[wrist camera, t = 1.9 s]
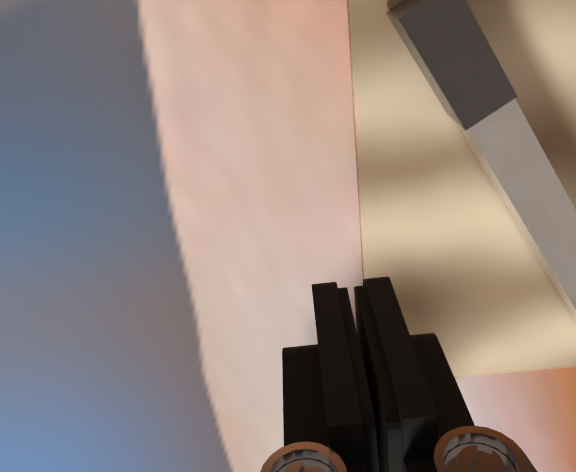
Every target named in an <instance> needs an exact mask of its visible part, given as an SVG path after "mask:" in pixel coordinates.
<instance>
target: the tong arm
mask: <svg viewBox="0 0 576 472" xmlns="http://www.w3.org/2000/svg"><path fill="white" fill-rule="evenodd" d="M386 14H387V16H388V17H389V19H390V21H391V22H392V24H393V26H394V27H395V29H396V31H397V32H398V34H399V35H400V37H401V39H402V40H403V42H404V44H405V45H406V47H407V49H408V50H409V52H410V54H411V55H412V57H413V58H414V60H415V62H416V63H417V65H418V67H419V68H420V70H421V72H422V73H423V75H424V77H425V78H426V80H427V81H428V83H429V85H430V86H431V88H432V90H433V91H434V93H435V95H436V96H437V98H438V100H439V101H440V103H441V105H442V106H443V108H444V109H445V111H446V113H447V114H448V115H449V116H450V117H451V118H452V119H453V120H454V121H455V123H456V124H457V126H458V128H459V129H460V131H461V132H462V134H463V136H464V137H465V139H466V141H467V142H468V144H469V146H470V147H471V149H472V151H473V152H474V154H475V156H476V157H477V159H478V161H479V162H480V164H481V166H482V167H483V169H484V170H485V172H486V174H487V175H488V177H489V179H490V180H491V182H492V184H493V185H494V187H495V189H496V190H497V192H498V194H499V195H500V197H501V199H502V200H503V202H504V203H505V205H506V207H507V208H508V210H509V212H510V213H511V215H512V217H513V218H514V220H515V222H516V223H517V225H518V227H519V228H520V230H521V232H522V233H523V235H524V237H525V238H526V240H527V241H528V243H529V245H530V246H531V248H532V250H533V251H534V253H535V255H536V256H537V258H538V260H539V261H540V263H541V265H542V266H543V268H544V270H545V271H546V273H547V274H548V276H549V278H550V279H551V281H552V283H553V284H554V286H555V288H556V289H557V291H558V293H559V294H560V296H561V298H562V299H563V301H564V303H565V304H566V306H567V308H568V309H569V311H570V312H571V314H572V316H573V317H574V319H575V321H576V210H575V208H574V206H573V204H572V202H571V200H570V199H569V197H568V195H567V193H566V191H565V189H564V187H563V186H562V184H561V182H560V180H559V178H558V176H557V175H556V173H555V171H554V169H553V167H552V165H551V164H550V162H549V160H548V158H547V156H546V154H545V153H544V151H543V149H542V147H541V145H540V143H539V142H538V140H537V138H536V136H535V134H534V132H533V130H532V129H531V127H530V125H529V123H528V121H527V119H526V118H525V116H524V114H523V112H522V110H521V108H520V107H519V105H518V103H517V101H516V99H515V98H516V97H518V96H517V94H516V92H515V91H514V89H513V87H512V85H511V83H510V81H509V80H508V78H507V76H506V74H505V72H504V70H503V68H502V67H501V65H500V63H499V61H498V59H497V57H496V56H495V54H494V52H493V50H492V48H491V46H490V44H489V43H488V41H487V39H486V37H485V35H484V33H483V31H482V30H481V28H480V26H479V24H478V22H477V20H476V19H475V17H474V15H473V13H472V11H471V9H470V7H469V6H468V4H467V2H466V0H402V1H401V2H400V3H398V4H397V5H396V6H394V7H393V8H392V9H390V10H389V11H388V12H386Z"/></svg>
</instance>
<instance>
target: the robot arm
mask: <svg viewBox="0 0 576 472" xmlns="http://www.w3.org/2000/svg"><path fill="white" fill-rule="evenodd" d="M312 292H313V302H314V311H315V320H316V329H317V339H318V344H317V345H307V346H298V347H288V348H283V350H282V361H283V418H284V447H282V448H280V449H279V450H277V451H276V452H274V453H273V454H272V455H271V456H270V457H269V458H268V459H267V461H266V462H265V463H264V464H263V466H262V469H261V472H537V470H536V469H535V468H534V466H533V465H532V463H531V462H530V460H529V459H528V457H527V456H526V455H525V453H524V452H523V451H522V449H521V448H520V447H519V446H518V445H517V444H516V443H515V442H514V441H513V440H512V439H510V438H508V437H507V436H505V435H504V434H502V433H500V432H498V431H495V430H492V429H490V428H486V427H479V426H475V425H474V423H473V420H472V418H471V416H470V413H469V411H468V408H467V406H466V404H465V401H464V399H463V397H462V394H461V392H460V390H459V387H458V385H457V382H456V380H455V378H454V375H453V373H452V371H451V368H450V366H449V364H448V361H447V359H446V356H445V354H444V352H443V349H442V347H441V345H440V342H439V340H438V338H437V336H436V334H434V333H425V334H415V335H410V334H409V331H408V328H407V325H406V323H405V320H404V317H403V314H402V311H401V308H400V306H399V303H398V300H397V297H396V294H395V291H394V289H393V286H392V283H391V280H390V278H389V277H388V276H387V277H378V278H368V279H363V286H356V287H354V292H355V308H356V323H357V332H356V327H355V323H354V318H353V313H352V309H351V304H350V299H349V295H348V290H347V287H346V288H337V283H336V282H330V283H321V284H312Z"/></svg>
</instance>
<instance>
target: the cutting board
mask: <svg viewBox="0 0 576 472" xmlns="http://www.w3.org/2000/svg"><path fill="white" fill-rule="evenodd" d="M401 1H402V0H347V7H348V24H349V41H350V59H351V76H352V93H353V110H354V128H355V145H356V162H357V180H358V197H359V214H360V231H361V249H362V266H363V279H368V278H378V277H387V276H388V277H389V278H390V280H391V283H392V286H393V289H394V291H395V294H396V297H397V300H398V303H399V306H400V308H401V311H402V314H403V317H404V320H405V323H406V325H407V328H408V331H409V334H410V335H415V334H425V333H434V334H436V336H437V338H438V340H439V342H440V345H441V347H442V349H443V352H444V354H445V356H446V359H447V361H448V364H449V366H450V368H451V371H452V373H453V375H454V378H455V377H466V376H477V375H488V374H498V373H509V372H520V371H531V370H542V369H553V368H564V367H575V366H576V321H575V319H574V317H573V316H572V314H571V312H570V311H569V309H568V308H567V306H566V304H565V303H564V301H563V299H562V298H561V296H560V294H559V293H558V291H557V289H556V288H555V286H554V284H553V283H552V281H551V279H550V278H549V276H548V274H547V273H546V271H545V270H544V268H543V266H542V265H541V263H540V261H539V260H538V258H537V256H536V255H535V253H534V251H533V250H532V248H531V246H530V245H529V243H528V241H527V240H526V238H525V237H524V235H523V233H522V232H521V230H520V228H519V227H518V225H517V223H516V222H515V220H514V218H513V217H512V215H511V213H510V212H509V210H508V208H507V207H506V205H505V203H504V202H503V200H502V199H501V197H500V195H499V194H498V192H497V190H496V189H495V187H494V185H493V184H492V182H491V180H490V179H489V177H488V175H487V174H486V172H485V170H484V169H483V167H482V166H481V164H480V162H479V161H478V159H477V157H476V156H475V154H474V152H473V151H472V149H471V147H470V146H469V144H468V142H467V141H466V139H465V137H464V136H463V134H462V132H461V131H460V129H459V128H458V126H457V124H456V123H455V121H454V120H453V119H452V118H451V117H450V116H449V115H448V114H447V113H446V111H445V109H444V108H443V106H442V105H441V103H440V101H439V100H438V98H437V96H436V95H435V93H434V91H433V90H432V88H431V86H430V85H429V83H428V81H427V80H426V78H425V77H424V75H423V73H422V72H421V70H420V68H419V67H418V65H417V63H416V62H415V60H414V58H413V57H412V55H411V54H410V52H409V50H408V49H407V47H406V45H405V44H404V42H403V40H402V39H401V37H400V35H399V34H398V32H397V31H396V29H395V27H394V26H393V24H392V22H391V21H390V19H389V17H388V16H387V14H386V12H388V11H389V10H390V9H392V8H393V7H394V6H396V5H397V4H398V3H400V2H401ZM466 2H467V4H468V6H469V7H470V9H471V11H472V13H473V15H474V17H475V19H476V20H477V22H478V24H479V26H480V28H481V30H482V31H483V33H484V35H485V37H486V39H487V41H488V43H489V44H490V46H491V48H492V50H493V52H494V54H495V56H496V57H497V59H498V61H499V63H500V65H501V67H502V68H503V70H504V72H505V74H506V76H507V78H508V80H509V81H510V83H511V85H512V87H513V89H514V91H515V92H516V94H517V96H518V97H516V98H515V99H516V101H517V103H518V105H519V107H520V108H521V110H522V112H523V114H524V116H525V118H526V119H527V121H528V123H529V125H530V127H531V129H532V130H533V132H534V134H535V136H536V138H537V140H538V142H539V143H540V145H541V147H542V149H543V151H544V153H545V154H546V156H547V158H548V160H549V162H550V164H551V165H552V167H553V169H554V171H555V173H556V175H557V176H558V178H559V180H560V182H561V184H562V186H563V187H564V189H565V191H566V193H567V195H568V197H569V199H570V200H571V202H572V204H573V206H574V208H575V210H576V0H466Z"/></svg>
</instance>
